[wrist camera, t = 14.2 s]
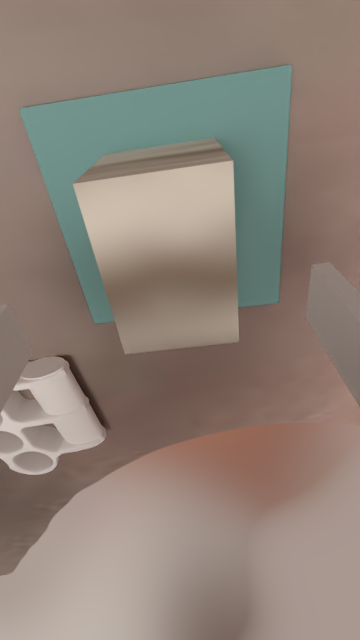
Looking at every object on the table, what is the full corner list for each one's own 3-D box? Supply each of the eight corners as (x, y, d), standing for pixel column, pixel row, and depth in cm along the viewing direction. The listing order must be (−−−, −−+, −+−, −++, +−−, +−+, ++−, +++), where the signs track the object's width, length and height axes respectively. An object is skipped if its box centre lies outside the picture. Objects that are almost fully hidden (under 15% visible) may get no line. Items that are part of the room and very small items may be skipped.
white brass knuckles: (117, 439, 40) (8, 455, 41) (54, 325, 30) (-88, 351, 31) (112, 465, 37) (-4, 480, 39) (42, 349, 27) (-113, 376, 28)
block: (104, 154, 21) (72, 183, 14) (214, 137, 20) (233, 160, 14) (137, 288, 26) (124, 354, 20) (223, 278, 26) (239, 341, 19)
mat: (95, 320, 29) (94, 324, 28) (22, 108, 20) (18, 108, 19) (276, 299, 28) (278, 303, 27) (289, 65, 19) (292, 64, 18)
